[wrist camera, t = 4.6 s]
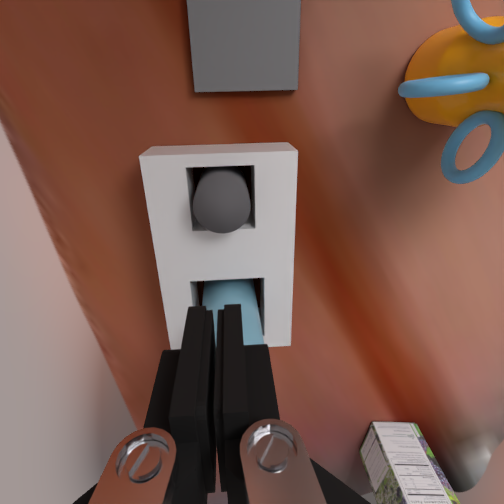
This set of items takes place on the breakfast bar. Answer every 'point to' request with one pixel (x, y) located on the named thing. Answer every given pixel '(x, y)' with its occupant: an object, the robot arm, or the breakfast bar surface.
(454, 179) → the cylinder
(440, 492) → the syrup box
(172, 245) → the housing
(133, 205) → the breakfast bar surface
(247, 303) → the cartridge
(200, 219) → the plunger
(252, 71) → the mat
